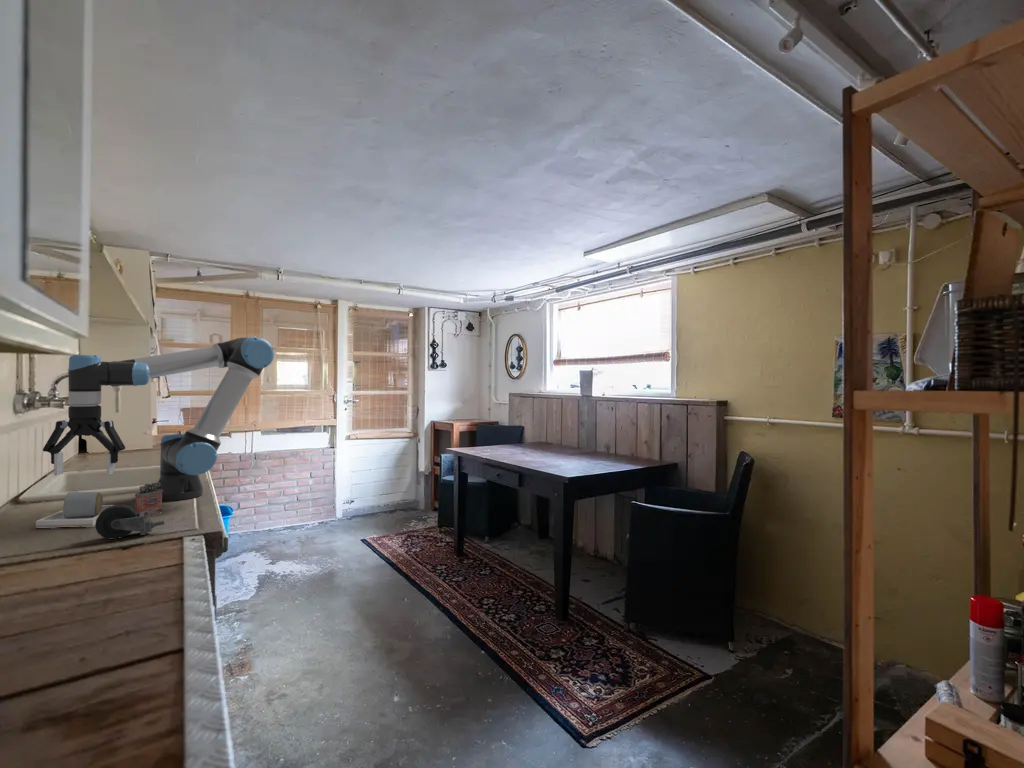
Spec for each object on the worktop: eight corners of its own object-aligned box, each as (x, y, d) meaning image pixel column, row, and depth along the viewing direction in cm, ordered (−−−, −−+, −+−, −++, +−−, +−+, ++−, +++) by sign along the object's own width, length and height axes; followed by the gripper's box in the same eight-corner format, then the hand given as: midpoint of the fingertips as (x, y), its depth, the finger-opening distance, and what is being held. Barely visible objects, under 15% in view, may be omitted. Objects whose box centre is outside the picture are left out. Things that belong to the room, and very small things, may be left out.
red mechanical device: (139, 518, 150) (140, 487, 150) (131, 517, 151) (132, 485, 151) (165, 512, 158) (165, 481, 158) (157, 510, 159) (158, 480, 159)
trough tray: (123, 511, 157) (123, 504, 156) (92, 527, 141) (93, 519, 141) (72, 512, 153) (73, 505, 153) (35, 528, 138) (36, 521, 138)
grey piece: (98, 517, 146) (98, 492, 146) (62, 521, 142) (62, 495, 142) (105, 509, 155) (105, 485, 155) (71, 512, 151) (72, 488, 151)
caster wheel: (96, 546, 129) (164, 532, 137) (92, 511, 128) (161, 499, 137) (99, 540, 134) (165, 527, 142) (95, 506, 133) (162, 495, 141)
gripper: (138, 404, 153) (138, 470, 154) (45, 403, 147) (45, 472, 148) (125, 406, 146) (125, 475, 146) (26, 405, 140) (26, 477, 141)
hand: (85, 474), depth 147 cm, fingers open, 13 cm apart
